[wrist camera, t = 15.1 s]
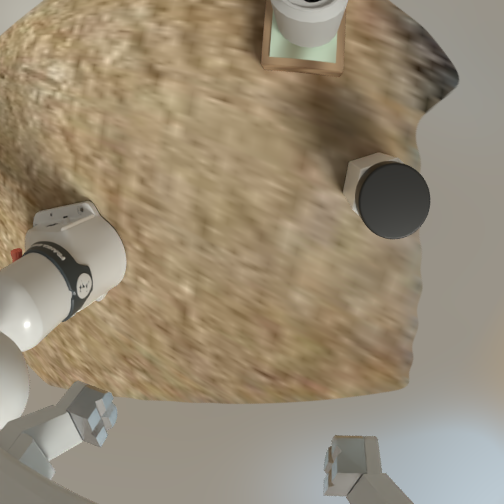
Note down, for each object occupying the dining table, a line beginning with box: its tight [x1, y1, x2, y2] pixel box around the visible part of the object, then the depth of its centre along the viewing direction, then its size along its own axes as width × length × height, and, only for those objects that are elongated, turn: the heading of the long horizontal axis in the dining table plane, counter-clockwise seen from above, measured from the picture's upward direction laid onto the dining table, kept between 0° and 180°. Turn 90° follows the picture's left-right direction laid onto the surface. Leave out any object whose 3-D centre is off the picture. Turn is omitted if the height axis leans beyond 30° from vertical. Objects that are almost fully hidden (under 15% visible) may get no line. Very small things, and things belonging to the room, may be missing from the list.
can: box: [271, 0, 348, 48], centre depth 26 cm, size 8×8×12 cm
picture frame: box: [261, 0, 346, 77], centre depth 33 cm, size 10×12×4 cm
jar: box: [343, 152, 430, 239], centre depth 36 cm, size 9×8×12 cm
